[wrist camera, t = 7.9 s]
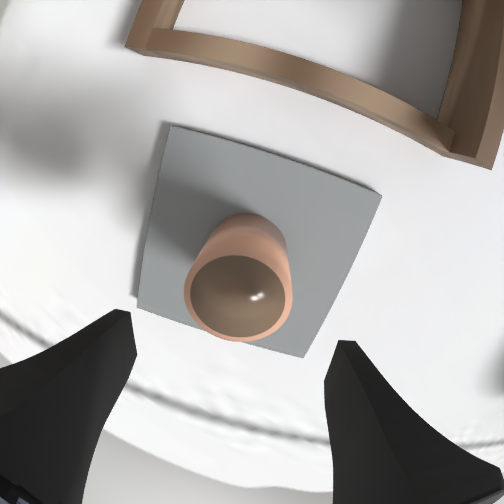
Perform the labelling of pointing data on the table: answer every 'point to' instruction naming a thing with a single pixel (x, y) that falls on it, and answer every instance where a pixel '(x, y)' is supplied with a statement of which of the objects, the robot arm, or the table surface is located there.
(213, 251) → the clay pot
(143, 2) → the frame
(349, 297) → the table surface
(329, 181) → the potting mat
